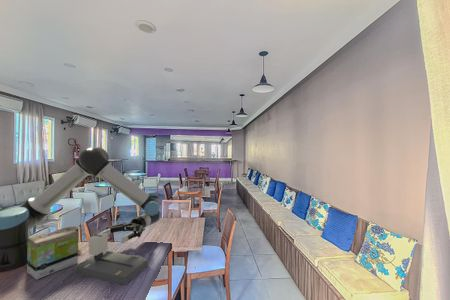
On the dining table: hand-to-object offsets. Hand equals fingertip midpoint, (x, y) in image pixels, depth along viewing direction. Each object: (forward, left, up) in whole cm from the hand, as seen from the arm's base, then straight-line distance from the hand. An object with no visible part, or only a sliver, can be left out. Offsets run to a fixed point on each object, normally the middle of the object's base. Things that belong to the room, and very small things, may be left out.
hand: (110, 238), depth 100 cm
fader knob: (-1, -6, -6) cm, 9 cm away
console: (+7, -6, -10) cm, 14 cm away
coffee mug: (-29, +3, -10) cm, 30 cm away
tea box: (-18, -13, -10) cm, 24 cm away
